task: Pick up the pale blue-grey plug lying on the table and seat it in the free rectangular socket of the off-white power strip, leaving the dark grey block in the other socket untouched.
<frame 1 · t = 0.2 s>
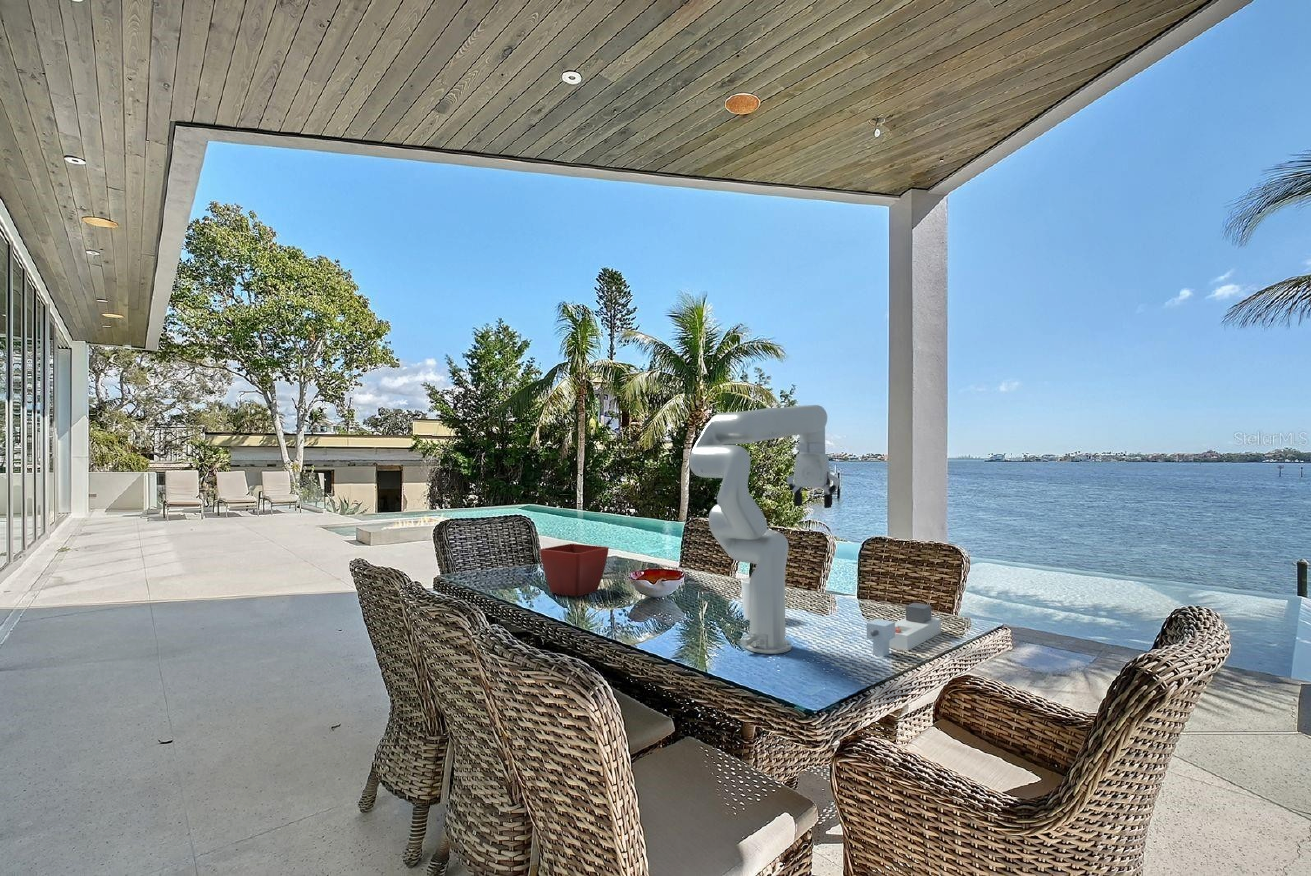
hand: (813, 506, 194), 36 cm above the table, tool pointing down, fingers open, 9 cm apart
dark grey block: (919, 634, 189), resting in power strip
power strip: (910, 638, 184), on the table
candle holder: (756, 618, 208), on the table
grey plug: (881, 654, 170), on the table
plant pot: (574, 593, 248), on the table
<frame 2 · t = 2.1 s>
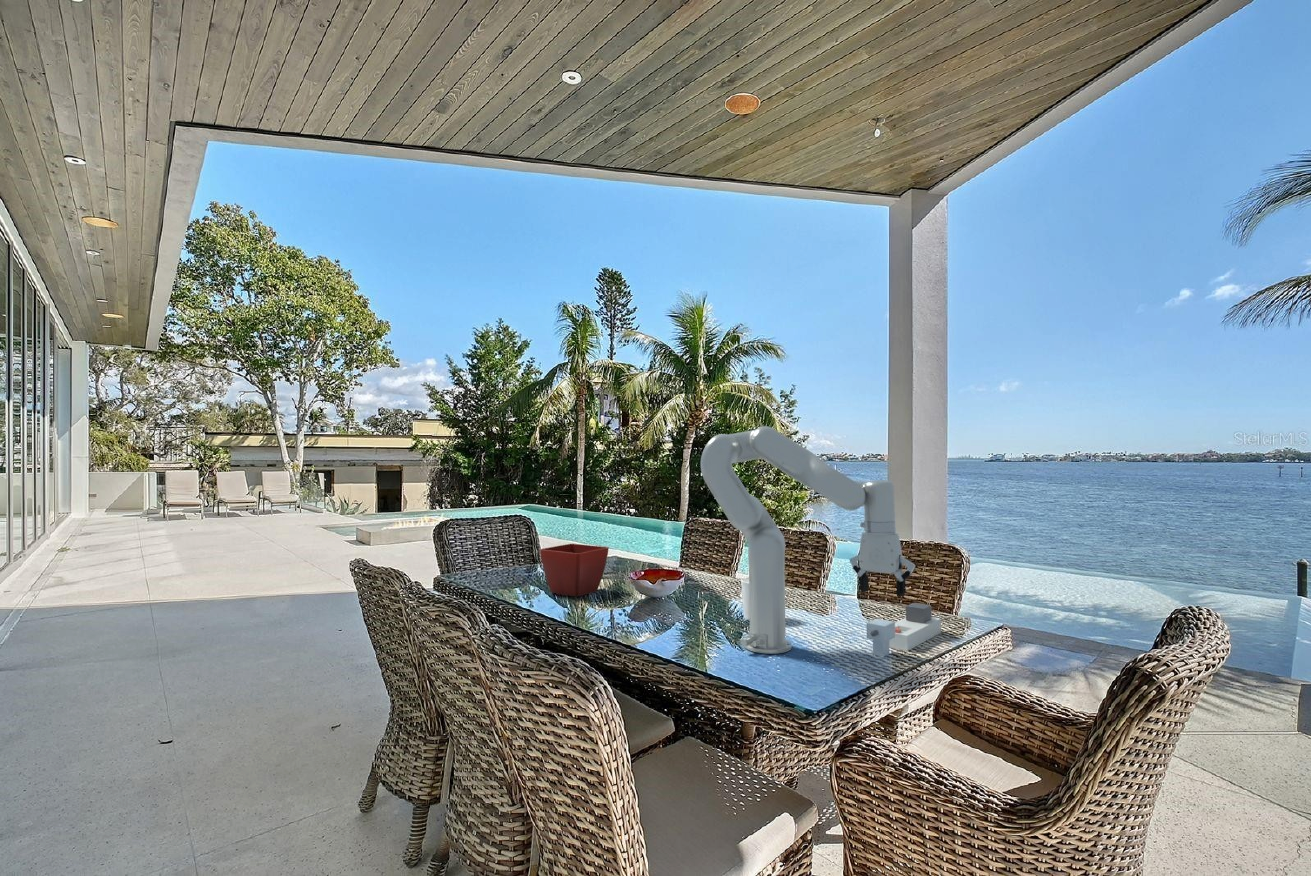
hand: (882, 593, 171), 16 cm above the table, tool pointing down, fingers open, 9 cm apart
nothing on the table moved.
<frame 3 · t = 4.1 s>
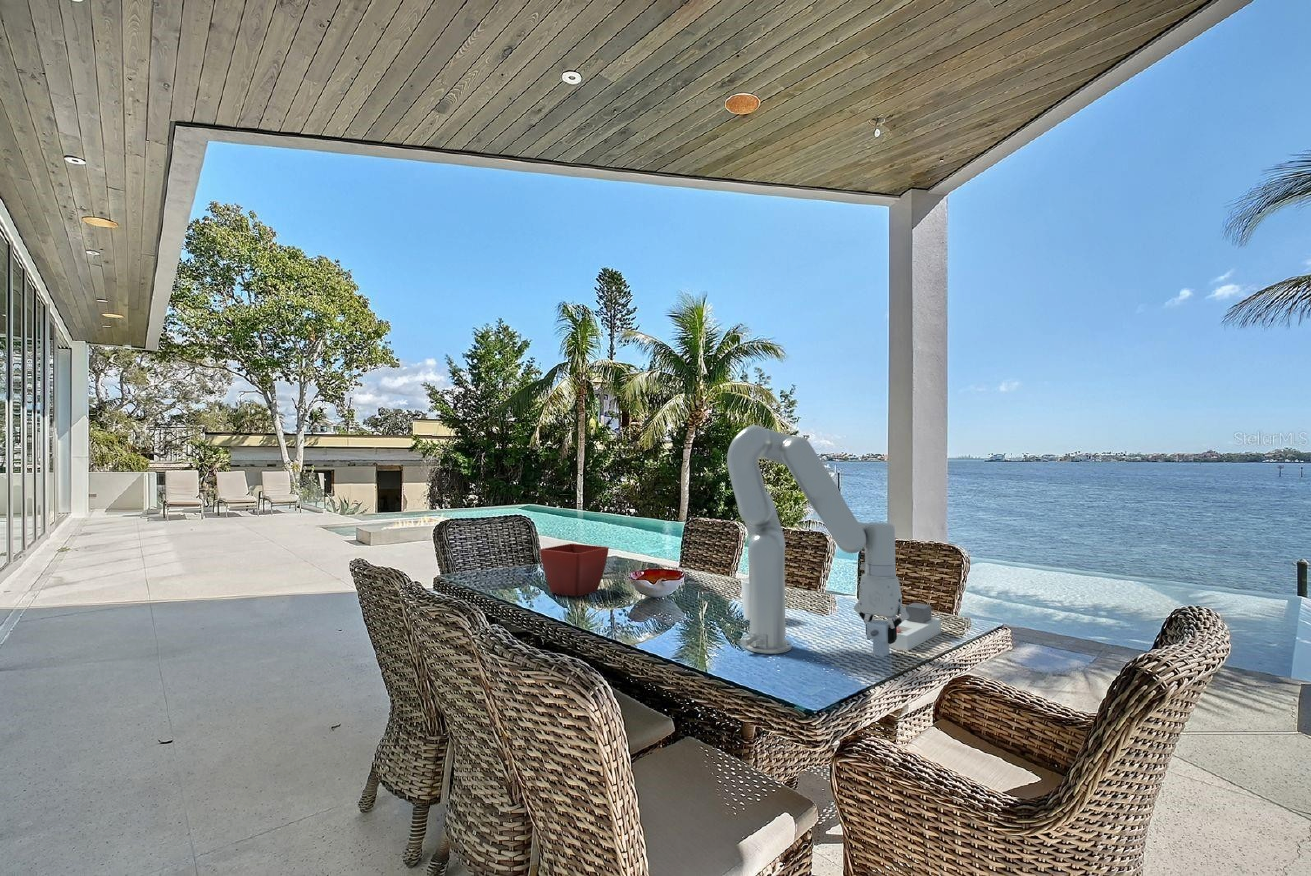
hand: (881, 639, 170), 4 cm above the table, tool pointing down, fingers closed on grey plug, 4 cm apart
grey plug: (881, 654, 170), on the table, touching gripper
everything else where it was.
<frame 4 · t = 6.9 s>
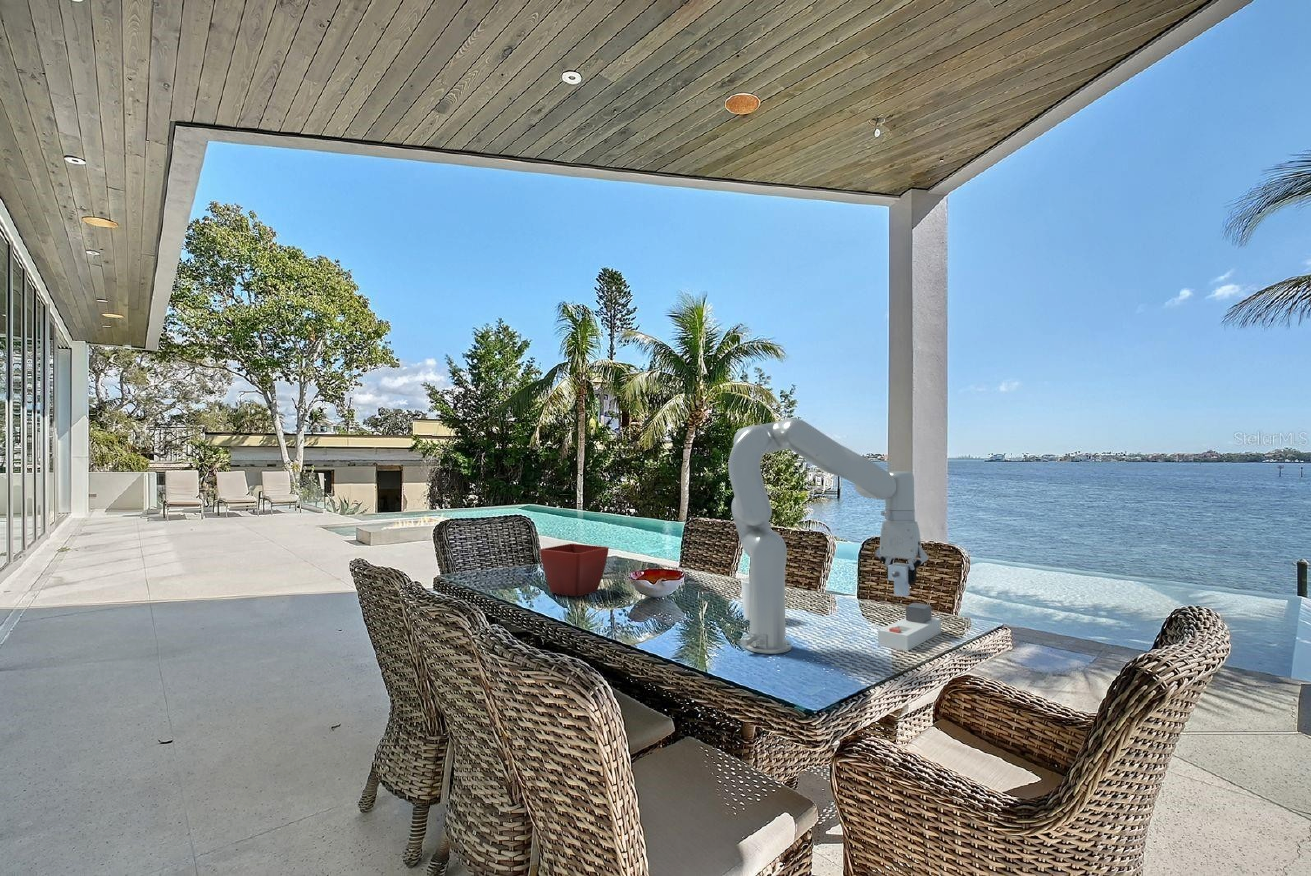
hand: (901, 581, 180), 17 cm above the table, tool pointing down, fingers closed on grey plug, 4 cm apart
grey plug: (902, 595, 180), point 13 cm above the table, touching gripper
everything else where it was.
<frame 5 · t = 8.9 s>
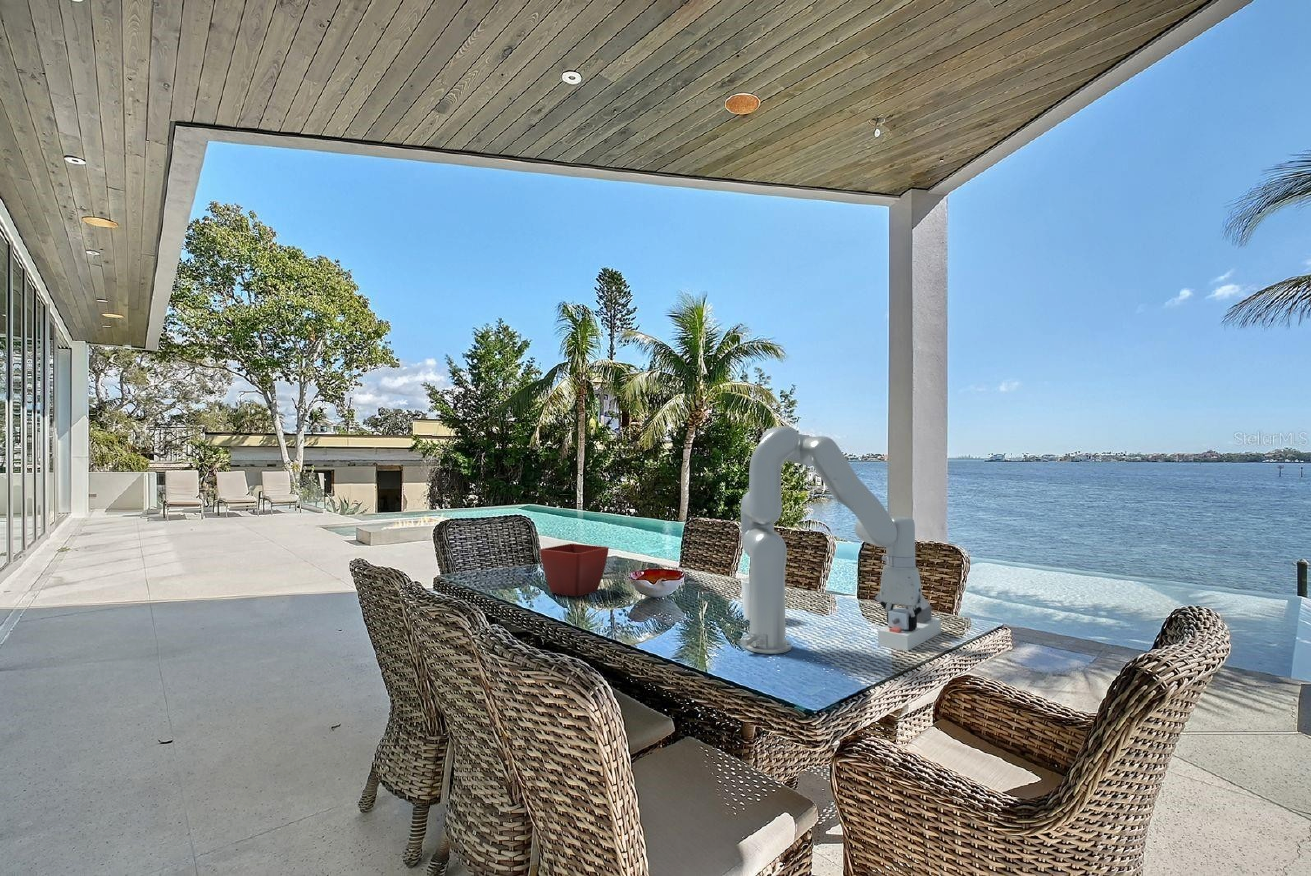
hand: (901, 627, 180), 4 cm above the table, tool pointing down, fingers closed on grey plug, power strip, 4 cm apart
grey plug: (902, 641, 180), point 1 cm above the table, touching gripper
everything else where it was.
when the fingers open (4 cm above the table, at t = 9.6 s): grey plug stays where it is, resting in power strip.
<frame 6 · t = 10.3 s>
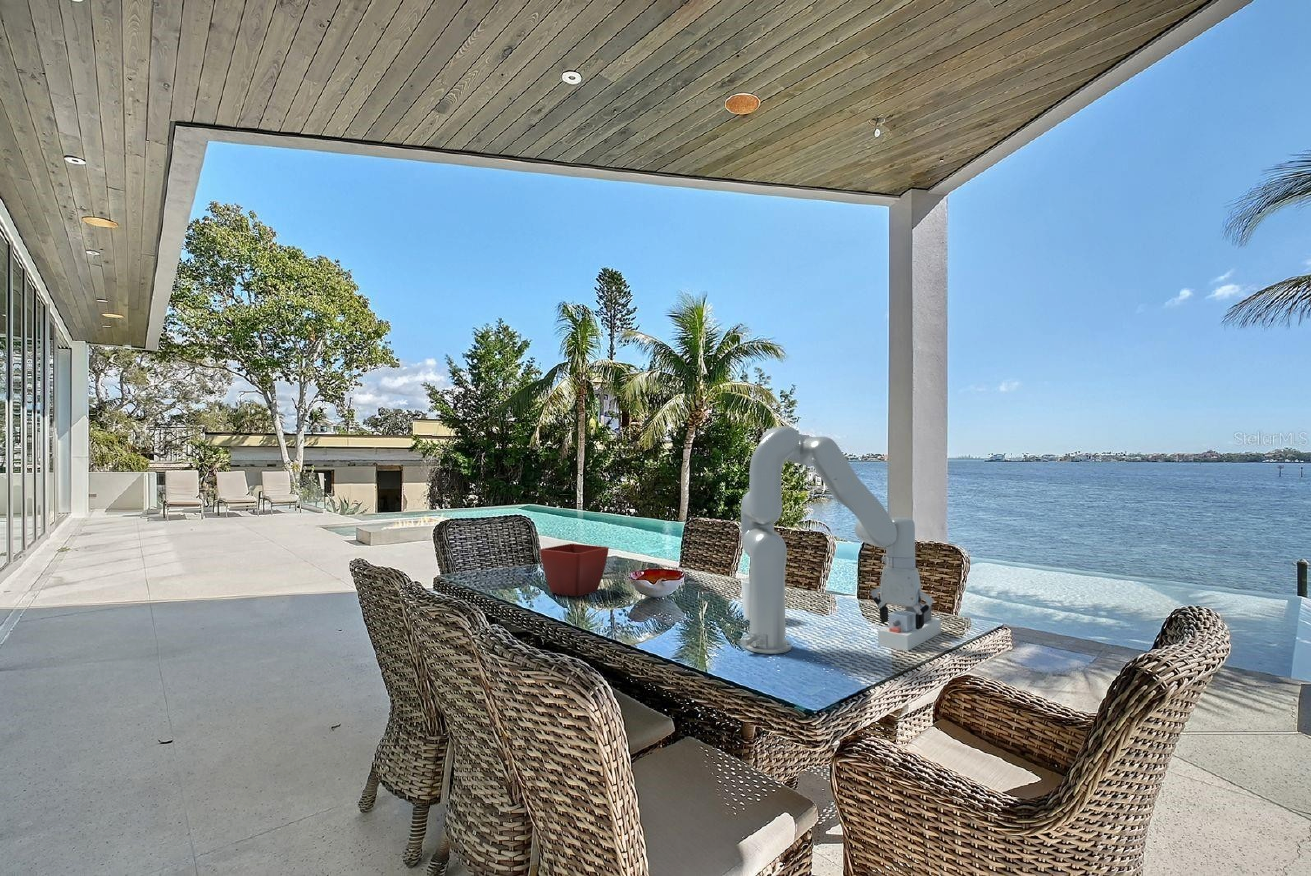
hand: (901, 625, 180), 5 cm above the table, tool pointing down, fingers open, 9 cm apart
grey plug: (902, 643, 180), resting in power strip
everything else where it was.
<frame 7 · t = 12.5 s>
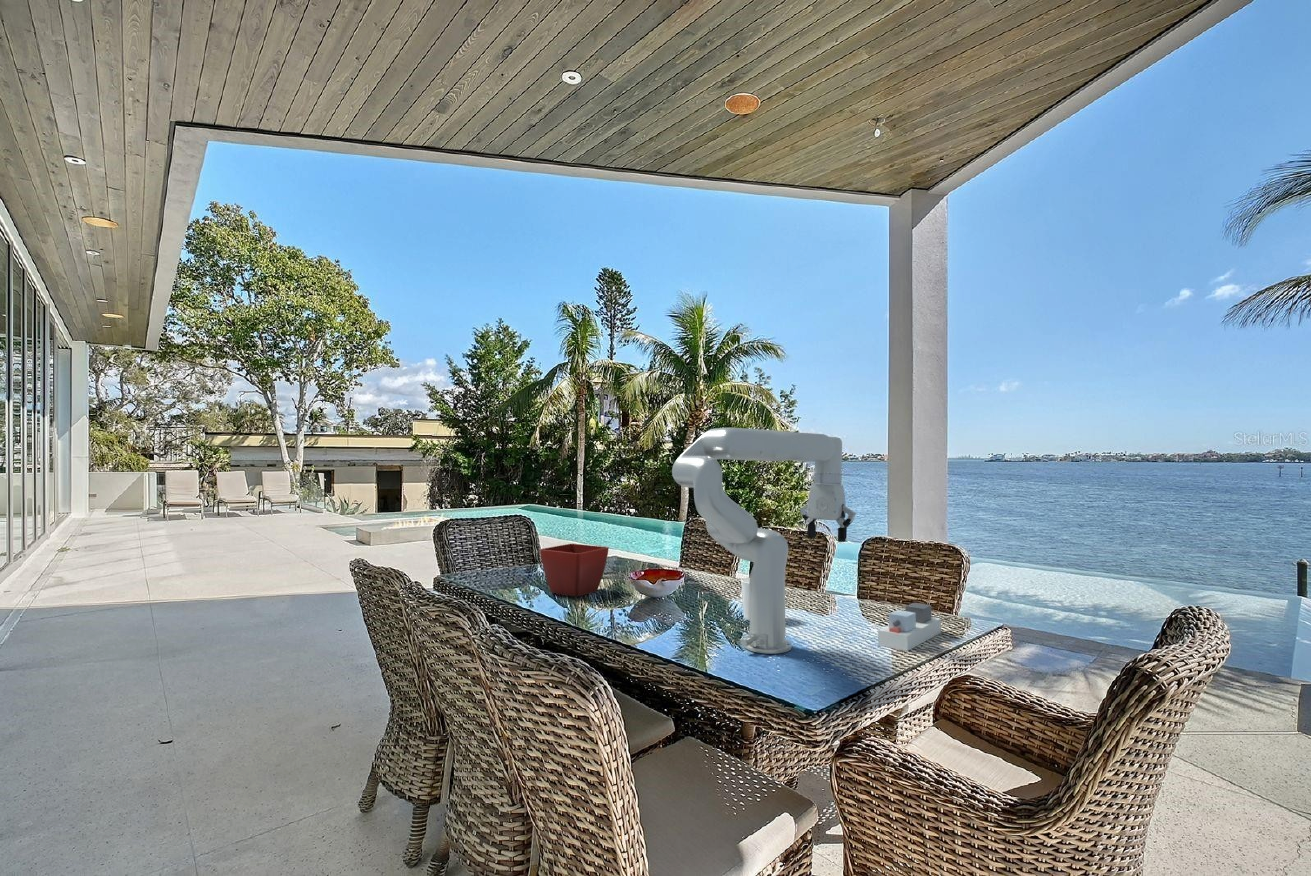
hand: (826, 539, 187), 28 cm above the table, tool pointing down, fingers open, 9 cm apart
nothing on the table moved.
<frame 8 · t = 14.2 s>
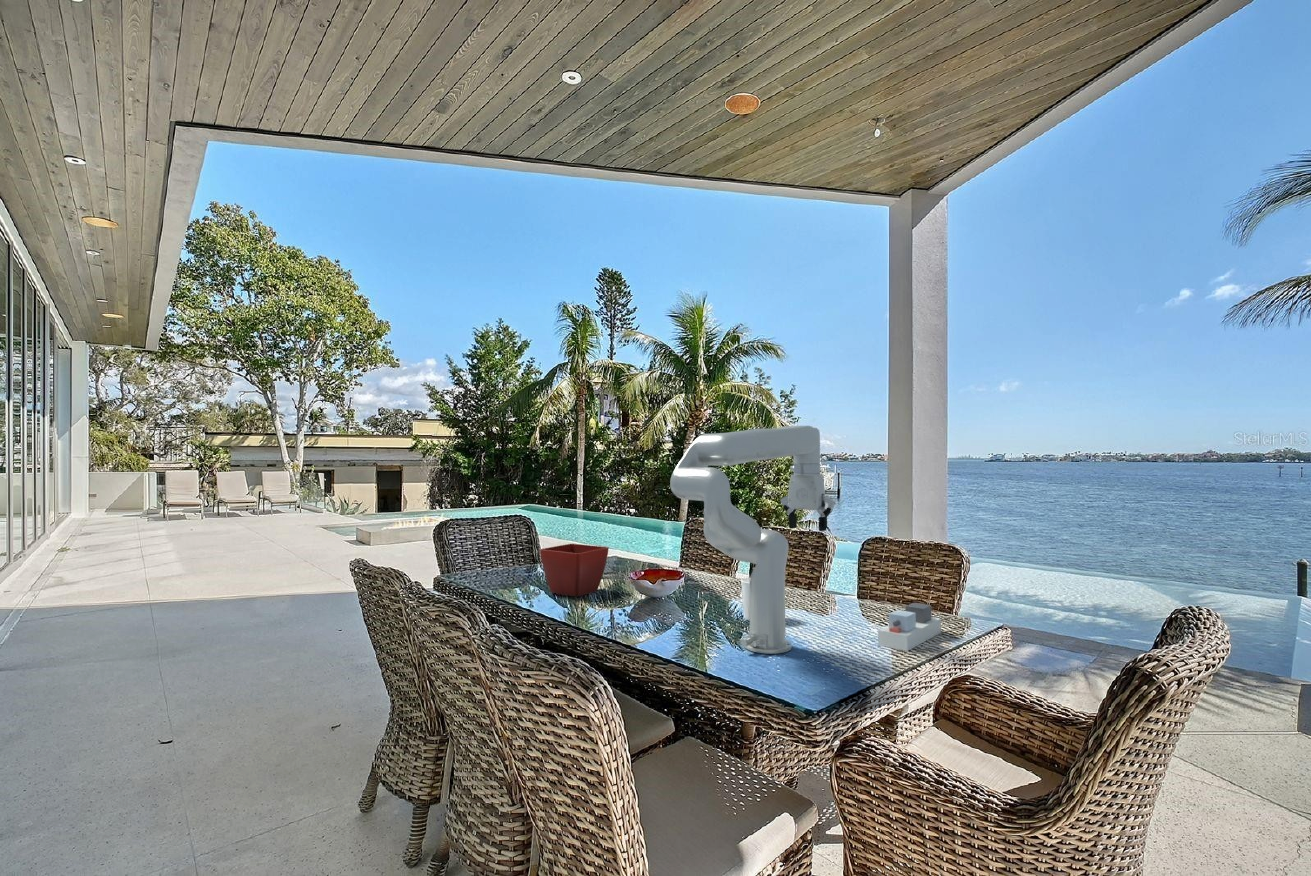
hand: (807, 529, 189), 30 cm above the table, tool pointing down, fingers open, 9 cm apart
nothing on the table moved.
at the end: grey plug 0.2 cm from the target spot on the power strip, point 0.0 cm above the power strip's base; grey plug tilted 0°; dark grey block moved 0.0 cm from its start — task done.
